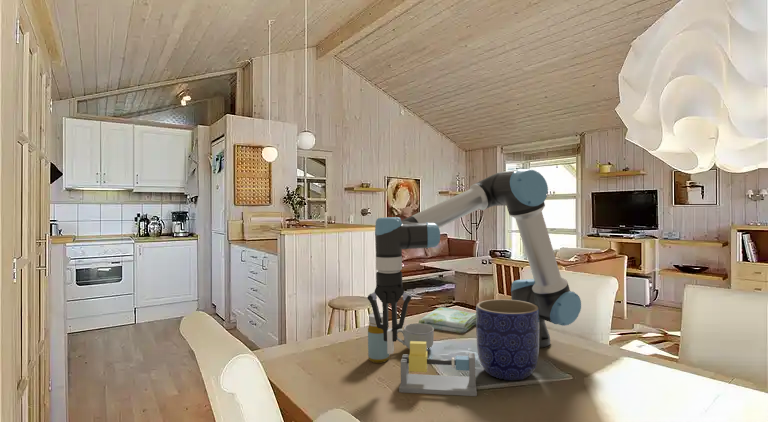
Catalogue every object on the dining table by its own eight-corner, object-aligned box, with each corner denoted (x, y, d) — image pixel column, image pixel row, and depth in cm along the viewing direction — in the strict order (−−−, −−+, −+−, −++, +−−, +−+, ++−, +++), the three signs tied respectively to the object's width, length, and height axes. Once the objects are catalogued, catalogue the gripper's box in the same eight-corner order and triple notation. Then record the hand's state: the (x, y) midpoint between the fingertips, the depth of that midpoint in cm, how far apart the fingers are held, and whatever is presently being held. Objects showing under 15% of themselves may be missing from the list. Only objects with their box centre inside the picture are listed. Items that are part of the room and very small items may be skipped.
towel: (465, 334, 172) (465, 322, 172) (417, 327, 183) (417, 315, 183) (481, 323, 187) (481, 311, 187) (436, 317, 199) (436, 306, 199)
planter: (496, 357, 145) (496, 296, 145) (550, 372, 132) (549, 305, 132) (464, 373, 132) (463, 306, 132) (520, 392, 119) (519, 317, 119)
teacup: (434, 344, 160) (433, 323, 159) (434, 355, 149) (434, 332, 149) (396, 344, 161) (395, 322, 161) (394, 354, 150) (393, 331, 150)
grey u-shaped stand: (475, 381, 127) (474, 349, 127) (476, 396, 117) (476, 362, 117) (403, 377, 130) (403, 347, 130) (399, 392, 120) (398, 359, 120)
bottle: (367, 356, 149) (367, 312, 149) (388, 355, 150) (387, 311, 149) (368, 363, 142) (368, 318, 142) (390, 362, 143) (389, 317, 142)
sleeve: (427, 366, 126) (427, 340, 126) (426, 372, 122) (426, 345, 122) (410, 365, 127) (410, 339, 127) (409, 371, 123) (408, 344, 123)
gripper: (412, 269, 128) (414, 348, 128) (369, 268, 130) (371, 347, 131) (410, 273, 120) (411, 357, 121) (364, 272, 123) (365, 355, 123)
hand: (390, 352), depth 126 cm, fingers closed
